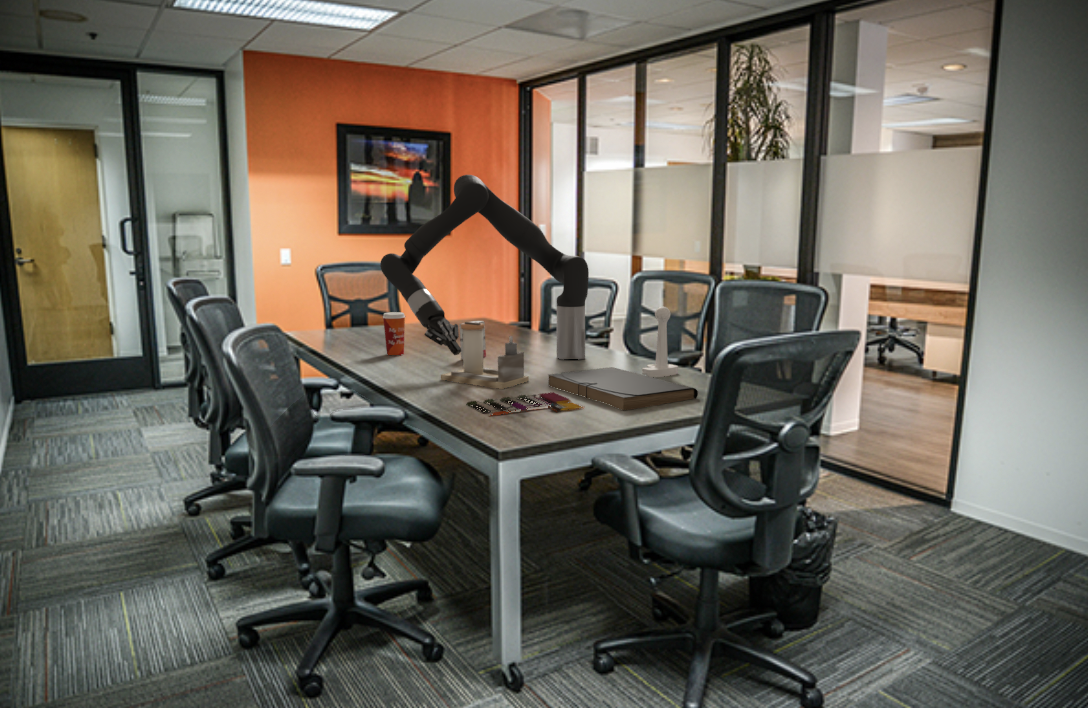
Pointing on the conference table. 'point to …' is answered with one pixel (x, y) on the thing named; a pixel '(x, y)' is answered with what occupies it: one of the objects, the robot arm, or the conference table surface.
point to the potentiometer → (510, 347)
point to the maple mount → (494, 373)
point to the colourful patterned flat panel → (550, 397)
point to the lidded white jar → (473, 347)
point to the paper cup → (394, 332)
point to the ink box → (483, 338)
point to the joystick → (661, 348)
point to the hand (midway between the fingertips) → (458, 353)
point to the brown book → (621, 387)
